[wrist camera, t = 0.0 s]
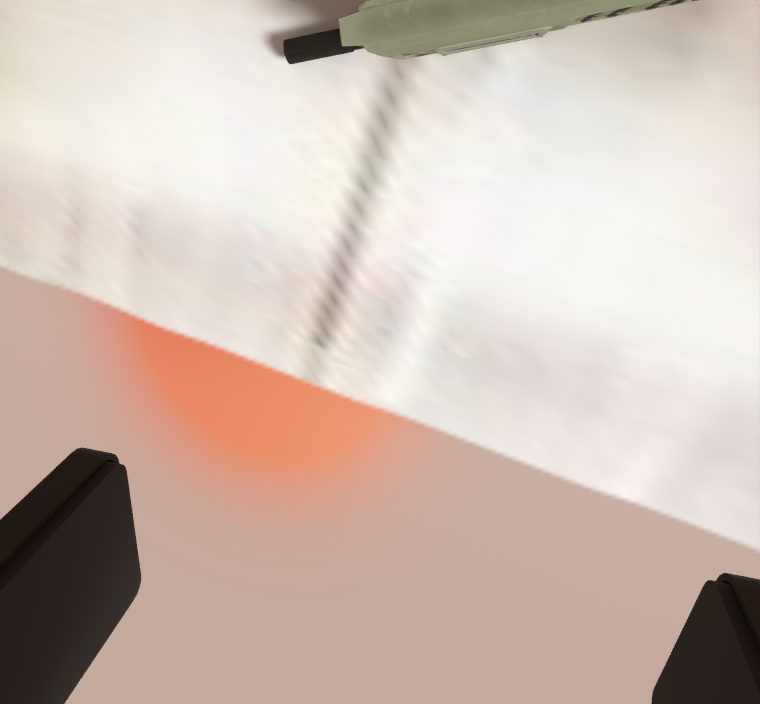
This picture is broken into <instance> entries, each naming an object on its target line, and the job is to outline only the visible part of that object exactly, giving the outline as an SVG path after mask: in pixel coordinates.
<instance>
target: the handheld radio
mask: <svg viewBox="0 0 760 704" xmlns="http://www.w3.org/2000/svg"><path fill="white" fill-rule="evenodd" d="M690 1H697V0H363V1H362V3H361V4H360V5H359V7H358V12H357V13H354V14H351V15H348V16H346V17H343V18H340V19H338V21H339V29H335V30H330V31H325V32H320V33H316V34H311V35H306V36H301V37H297V38H292V39H287V40H284V44H283V46H284V55H285V57H286V59H287V61H288V63H289V64H294V63H299V62H304V61H309V60H314V59H319V58H324V57H329V56H334V55H339V54H344V53H349V52H353V51H354V50H357V49H362V48H365V49H366V50H367V51H368V52H371V53H374V54H377V55H380V56H384V57H390V58H396V59H407V58H411V57H419V56H424V55H429V54H434V53H438V54H442V55H443V56H445V55H447V54H453V53H458V52H463V51H468V50H473V49H479V48H484V47H489V46H494V45H500V44H505V43H510V42H515V41H520V40H526V39H531V38H536V37H542V36H543V35H544V34H546V33H547V32H549V31H554V30H559V29H564V28H566V27H567V26H571V25H576V24H581V23H585V22H590V21H595V20H600V19H605V18H610V17H615V16H620V15H625V14H630V13H635V12H640V11H645V10H650V9H655V8H660V7H665V6H670V5H676V4H680V3H685V2H690Z"/></svg>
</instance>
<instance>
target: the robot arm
mask: <svg viewBox="0 0 760 704" xmlns="http://www.w3.org/2000/svg"><path fill="white" fill-rule="evenodd" d="M140 583H141V572H140V564H139V557H138V550H137V542H136V535H135V528H134V521H133V513H132V506H131V499H130V492H129V484H128V478H127V471H126V467H125V466H124V465H122V464H119V460H118V458H117V456H116V455H115V454H112V453H107V452H102V451H97V450H92V449H87V448H78V449H76V450H75V451H73V452H72V453H71V454H70V455H69V456H68V457H67V458H66V459H65V460H63V461H62V462H61V463H60V464H59V465H58V466H57V467H56V468H55V469H54V470H53V471H52V472H51V473H50V474H49V475H48V476H47V477H46V478H44V479H43V480H42V481H41V482H40V483H39V484H38V485H37V486H36V487H35V488H34V489H33V490H32V491H30V492H29V493H28V494H27V495H26V496H25V497H24V498H23V499H22V500H21V501H20V502H19V503H18V504H17V505H16V506H15V507H13V508H12V510H10V511H9V512H8V513H7V514H6V515H5V516H4V517H3V518H2V519H1V520H0V704H64V703H65V702H66V700H67V699H68V697H69V696H70V694H71V693H72V691H73V690H74V688H75V687H76V685H77V684H78V682H79V681H80V679H81V678H82V676H83V675H84V673H85V672H86V670H87V669H88V667H89V666H90V664H91V663H92V661H93V660H94V658H95V657H96V655H97V654H98V652H99V651H100V650H101V648H102V646H103V645H104V643H105V642H106V640H107V639H108V638H109V636H110V635H111V633H112V632H113V630H114V629H115V627H116V626H117V624H118V623H119V621H120V620H121V618H122V617H123V615H124V614H125V612H126V611H127V609H128V608H129V606H130V605H131V603H132V602H133V600H134V598H135V597H136V595H137V593H138V590H139V587H140ZM652 704H760V580H759V579H754V578H749V577H744V576H739V575H733V574H728V573H723V574H721V575H720V576H719V577H718V578H717V580H716V581H712V580H708V581H707V582H706V583H705V585H704V586H703V588H702V590H701V592H700V594H699V596H698V598H697V600H696V602H695V605H694V607H693V609H692V611H691V613H690V615H689V617H688V619H687V621H686V623H685V625H684V628H683V630H682V631H681V634H680V636H679V638H678V640H677V642H676V644H675V646H674V648H673V650H672V652H671V655H670V656H669V658H668V661H667V663H666V665H665V667H664V669H663V671H662V673H661V675H660V677H659V679H658V681H657V683H656V685H655V687H654V690H653V695H652Z"/></svg>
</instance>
